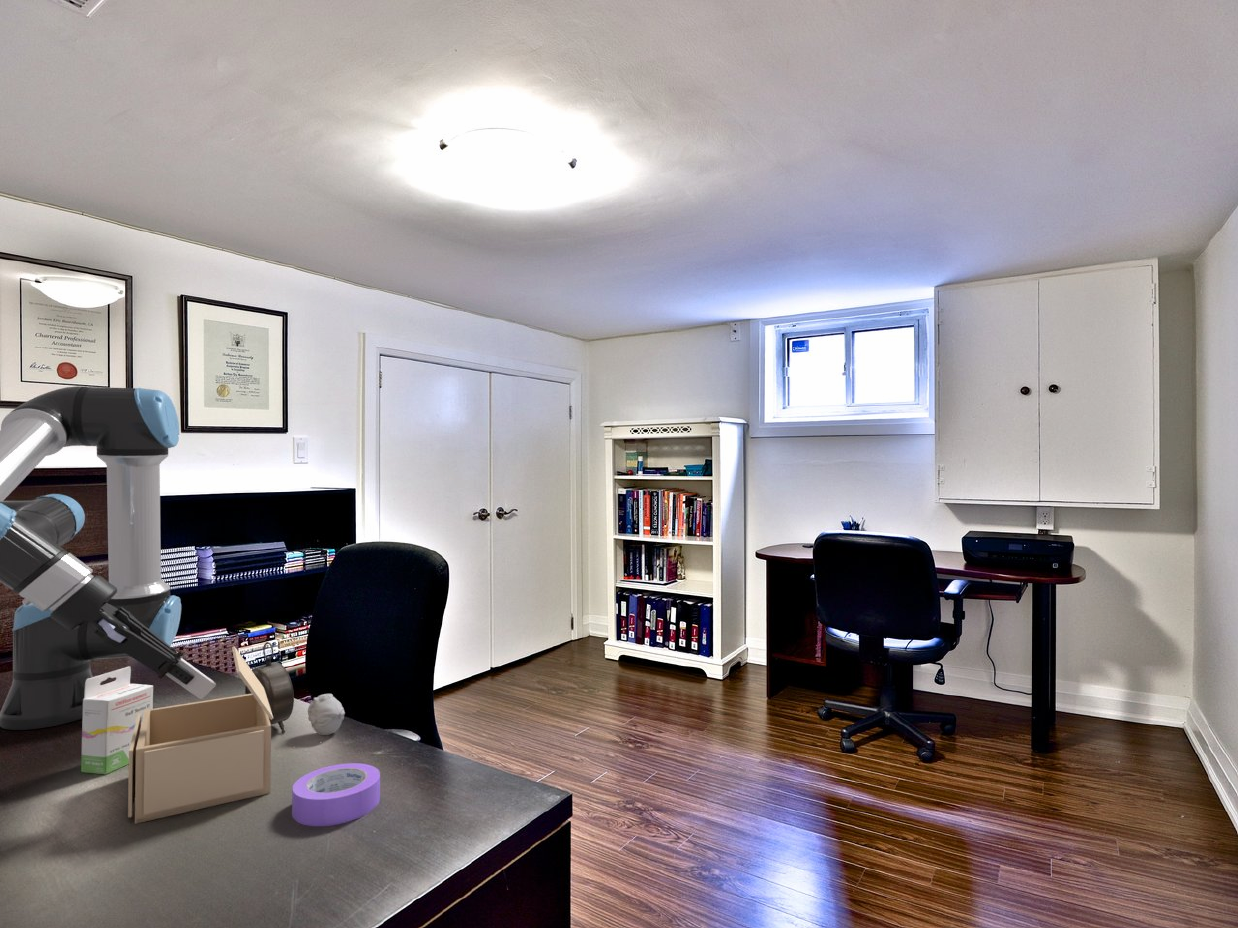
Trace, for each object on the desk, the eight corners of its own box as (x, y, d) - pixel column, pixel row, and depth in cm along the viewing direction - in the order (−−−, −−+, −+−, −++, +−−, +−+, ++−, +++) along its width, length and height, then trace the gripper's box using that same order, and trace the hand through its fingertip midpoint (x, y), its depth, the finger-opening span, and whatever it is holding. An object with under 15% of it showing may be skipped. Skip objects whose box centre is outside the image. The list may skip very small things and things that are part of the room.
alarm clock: (295, 732, 123) (296, 643, 123) (265, 741, 118) (266, 649, 119) (268, 718, 129) (269, 634, 130) (238, 726, 125) (239, 640, 125)
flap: (261, 689, 114) (231, 647, 112) (263, 687, 114) (234, 645, 112) (270, 719, 100) (237, 672, 98) (273, 718, 100) (239, 670, 98)
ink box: (105, 775, 105) (106, 681, 105) (79, 772, 106) (81, 679, 106) (154, 753, 113) (155, 666, 114) (129, 750, 114) (131, 664, 114)
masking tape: (284, 802, 97) (284, 775, 97) (366, 780, 104) (366, 755, 104) (302, 837, 88) (302, 807, 88) (391, 810, 95) (391, 783, 95)
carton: (137, 772, 106) (138, 709, 106) (260, 748, 115) (260, 690, 115) (127, 827, 89) (128, 753, 90) (270, 794, 99) (271, 727, 99)
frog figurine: (329, 724, 126) (330, 687, 127) (352, 732, 123) (352, 694, 123) (299, 734, 121) (299, 696, 121) (322, 743, 118) (322, 703, 118)
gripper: (55, 606, 98) (188, 699, 107) (37, 622, 87) (187, 725, 96) (101, 567, 101) (227, 661, 110) (89, 579, 90) (230, 682, 99)
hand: (208, 691), depth 103 cm, fingers closed
